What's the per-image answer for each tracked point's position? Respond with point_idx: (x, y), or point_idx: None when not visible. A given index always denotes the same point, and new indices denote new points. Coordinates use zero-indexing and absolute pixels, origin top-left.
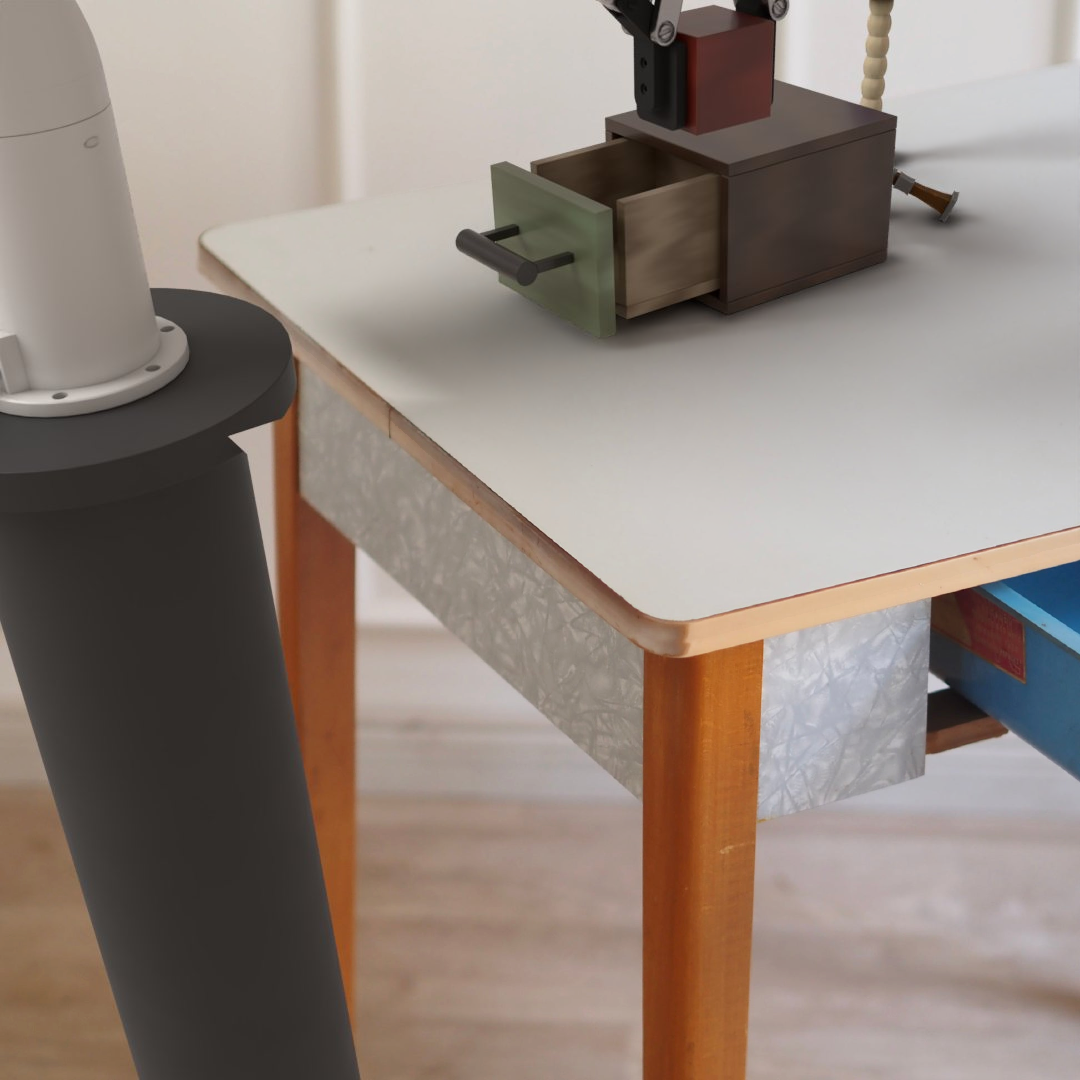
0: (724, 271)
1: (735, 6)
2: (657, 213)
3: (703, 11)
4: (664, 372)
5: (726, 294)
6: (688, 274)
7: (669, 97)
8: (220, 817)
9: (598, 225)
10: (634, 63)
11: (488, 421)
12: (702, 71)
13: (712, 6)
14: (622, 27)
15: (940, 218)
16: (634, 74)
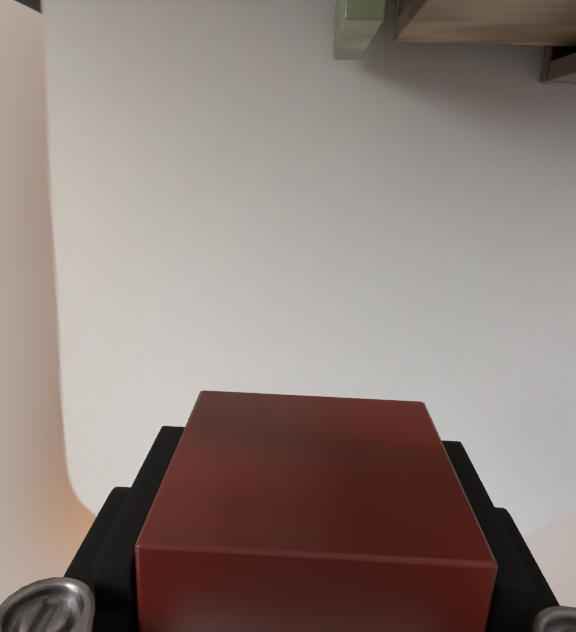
0: (568, 66)
1: (533, 625)
2: (499, 8)
3: (390, 609)
4: (357, 165)
5: (552, 77)
6: (521, 37)
7: None
8: (37, 3)
9: (348, 24)
10: (80, 550)
11: (119, 128)
12: None
13: (467, 586)
14: (5, 604)
15: None
16: (92, 527)
